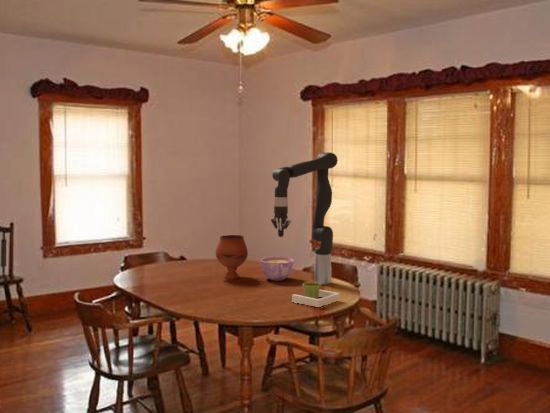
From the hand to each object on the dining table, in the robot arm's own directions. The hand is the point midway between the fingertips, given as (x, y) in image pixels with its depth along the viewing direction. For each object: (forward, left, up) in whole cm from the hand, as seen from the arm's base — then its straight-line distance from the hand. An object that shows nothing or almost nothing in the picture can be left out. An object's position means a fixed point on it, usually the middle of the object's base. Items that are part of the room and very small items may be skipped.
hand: (280, 236), depth 310 cm
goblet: (-2, -40, -29) cm, 50 cm away
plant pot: (+10, +29, -29) cm, 43 cm away
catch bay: (+10, +31, -29) cm, 44 cm away
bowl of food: (-16, -16, -29) cm, 37 cm away
